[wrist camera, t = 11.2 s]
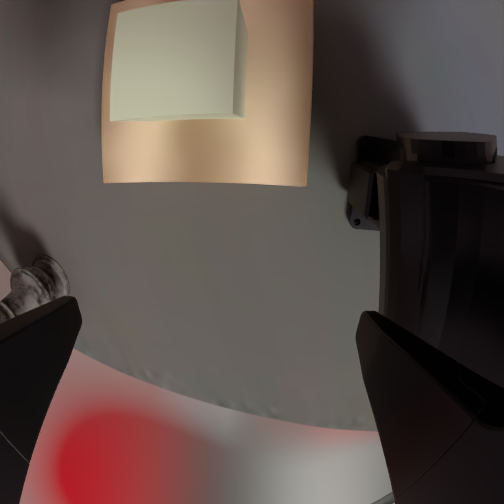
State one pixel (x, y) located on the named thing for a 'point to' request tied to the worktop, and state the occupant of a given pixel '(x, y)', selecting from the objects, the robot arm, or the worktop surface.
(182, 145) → the oak riser block
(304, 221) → the worktop surface
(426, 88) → the worktop surface
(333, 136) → the worktop surface
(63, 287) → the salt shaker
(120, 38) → the sage cube
